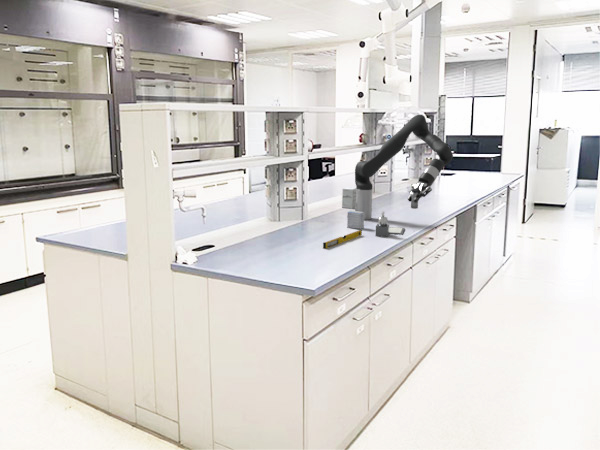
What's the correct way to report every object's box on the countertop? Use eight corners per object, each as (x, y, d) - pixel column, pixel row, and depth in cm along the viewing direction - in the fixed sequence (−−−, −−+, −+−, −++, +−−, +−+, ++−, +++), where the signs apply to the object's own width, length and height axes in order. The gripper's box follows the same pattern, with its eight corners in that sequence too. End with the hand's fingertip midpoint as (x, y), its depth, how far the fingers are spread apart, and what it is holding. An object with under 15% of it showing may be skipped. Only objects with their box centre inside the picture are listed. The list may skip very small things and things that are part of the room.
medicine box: (363, 227, 282) (364, 211, 280) (360, 229, 278) (361, 213, 276) (350, 226, 286) (350, 210, 284) (346, 227, 282) (347, 211, 280)
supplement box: (341, 207, 343) (342, 188, 340) (346, 206, 349) (346, 187, 347) (352, 208, 339) (352, 189, 337) (356, 207, 346) (357, 187, 343)
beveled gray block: (375, 236, 262) (376, 212, 260) (377, 233, 268) (377, 210, 266) (387, 236, 261) (388, 213, 258) (388, 234, 266) (389, 210, 264)
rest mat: (380, 233, 269) (380, 232, 268) (383, 227, 282) (383, 226, 282) (402, 234, 266) (402, 233, 265) (404, 229, 279) (404, 227, 279)
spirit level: (359, 235, 265) (359, 229, 264) (361, 236, 264) (361, 230, 263) (323, 249, 238) (323, 242, 237) (325, 249, 237) (325, 242, 236)
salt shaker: (408, 208, 279) (409, 188, 277) (413, 206, 282) (414, 187, 279) (415, 209, 275) (415, 189, 273) (420, 208, 278) (421, 188, 276)
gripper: (442, 182, 277) (425, 207, 273) (422, 179, 288) (405, 203, 284) (436, 172, 273) (418, 198, 269) (415, 170, 284) (398, 194, 280)
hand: (411, 200), depth 277 cm, fingers closed on salt shaker, 3 cm apart
